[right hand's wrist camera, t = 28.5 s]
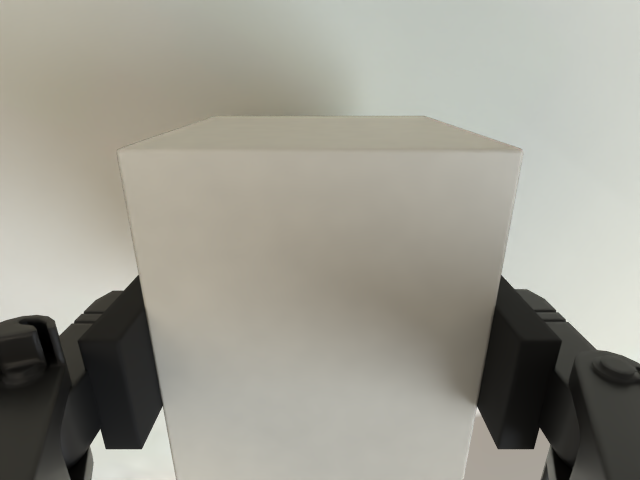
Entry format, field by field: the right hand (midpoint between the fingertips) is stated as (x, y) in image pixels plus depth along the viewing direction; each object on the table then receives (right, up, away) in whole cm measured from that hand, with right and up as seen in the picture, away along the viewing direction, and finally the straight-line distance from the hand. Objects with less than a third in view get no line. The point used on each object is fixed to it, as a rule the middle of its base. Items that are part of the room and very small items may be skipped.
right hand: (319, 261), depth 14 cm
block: (0, +1, +2) cm, 2 cm away
